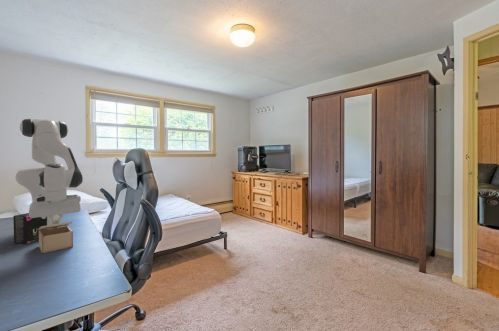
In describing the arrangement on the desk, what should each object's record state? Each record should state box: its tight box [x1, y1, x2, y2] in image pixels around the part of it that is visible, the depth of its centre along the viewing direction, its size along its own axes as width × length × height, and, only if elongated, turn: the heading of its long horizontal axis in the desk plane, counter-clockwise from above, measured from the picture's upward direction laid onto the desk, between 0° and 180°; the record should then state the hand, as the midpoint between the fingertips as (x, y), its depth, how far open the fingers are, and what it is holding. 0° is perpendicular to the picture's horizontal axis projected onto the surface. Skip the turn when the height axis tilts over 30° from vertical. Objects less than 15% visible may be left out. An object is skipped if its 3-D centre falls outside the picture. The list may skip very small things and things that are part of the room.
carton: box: [38, 225, 74, 254], centre depth 123 cm, size 14×12×8 cm
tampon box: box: [13, 212, 47, 245], centre depth 133 cm, size 11×9×15 cm
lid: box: [39, 221, 73, 230], centre depth 124 cm, size 14×12×1 cm
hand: (56, 223), depth 121 cm, fingers closed, pressing on lid
